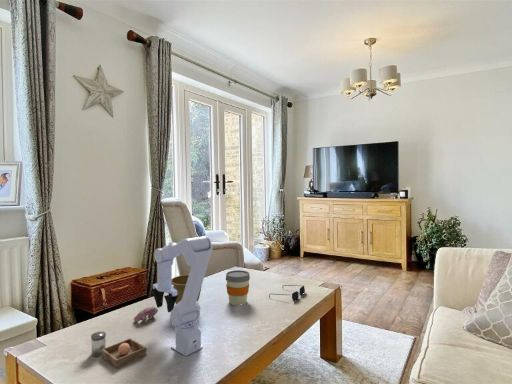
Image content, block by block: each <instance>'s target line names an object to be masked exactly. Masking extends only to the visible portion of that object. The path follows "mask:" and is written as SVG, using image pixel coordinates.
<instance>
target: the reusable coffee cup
mask: <svg viewBox="0 0 512 384" xmlns="http://www.w3.org/2000/svg"><path fill="white" fill-rule="evenodd" d="M250 279H251V275H250V272H249V271H247V270H243V269H242V270H239V269H238V270H230V271H227V272H226V273H225V281H226V284H225V285H226V292H227V296H228V302H229V304H230V305H232V304H233V306H242V305H241V304H243V305H245V304H246V303H247V300H248V295H249V288H250Z"/></svg>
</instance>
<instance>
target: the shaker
mask: <svg viewBox="0 0 512 384" xmlns="http://www.w3.org/2000/svg"><path fill="white" fill-rule="evenodd" d="M106 335H107V334H106V331H97V332H94V333H92V334H91V335H90V341H91V356H92V357H94V358H96V357H97V358H98V357H102V349H104V348H107V346H106V343H107V340H106V337H107V336H106Z"/></svg>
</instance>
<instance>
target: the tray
mask: <svg viewBox="0 0 512 384" xmlns="http://www.w3.org/2000/svg"><path fill="white" fill-rule="evenodd" d="M122 343H127V344H129V346H130V351H129V352H128V353H127V354H126V355H120V354H119V353H118V348H119V346H120V345H121V344H122ZM145 356H147V347H146V346H144V345H143V344H142V343H140V342H138V341H136V340H135V339H133V338H131V337H130V338H127V339H125V340H122V341H120V342H117V343H115V344H112V345H109V346H106V348H104V349H102V356H101V358H102V359H103V360H105V361H106V362H108V364H109V365H111V366H112V367H114V368H115V369H119V368H121V367H124V366H126V365H128V364H130V363H133V362H135V361H136V360H139V359H142V357H145Z"/></svg>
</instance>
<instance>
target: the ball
mask: <svg viewBox="0 0 512 384" xmlns="http://www.w3.org/2000/svg"><path fill="white" fill-rule="evenodd" d="M129 351H130V346H129V344H127V343H122V344H121V345H120V346H119V348H118V353H119V354H120V355H126V354H127V353H128V352H129Z"/></svg>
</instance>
